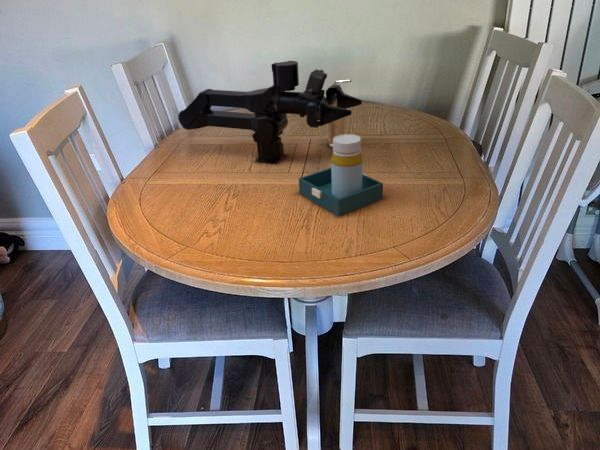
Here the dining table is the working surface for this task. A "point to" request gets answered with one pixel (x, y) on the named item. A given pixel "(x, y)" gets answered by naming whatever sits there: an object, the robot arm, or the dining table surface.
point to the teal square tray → (321, 193)
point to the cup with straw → (336, 123)
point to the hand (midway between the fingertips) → (356, 107)
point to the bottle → (346, 165)
